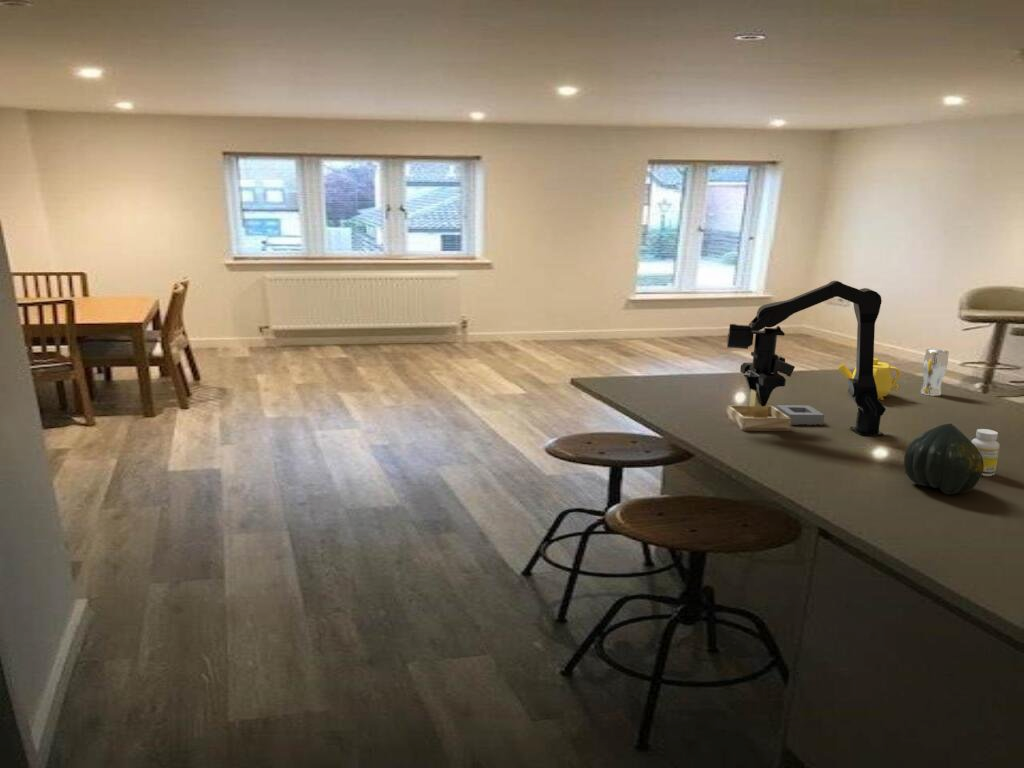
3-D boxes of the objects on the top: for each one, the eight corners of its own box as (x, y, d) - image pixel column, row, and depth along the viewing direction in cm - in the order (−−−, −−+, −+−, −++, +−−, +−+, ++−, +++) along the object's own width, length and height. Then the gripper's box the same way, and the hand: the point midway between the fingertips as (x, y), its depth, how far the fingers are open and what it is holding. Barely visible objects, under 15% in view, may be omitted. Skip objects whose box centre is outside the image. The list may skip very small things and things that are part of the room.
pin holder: (823, 424, 204) (824, 414, 203) (789, 424, 204) (790, 414, 203) (807, 415, 214) (808, 405, 213) (775, 414, 213) (776, 405, 212)
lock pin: (766, 422, 202) (770, 392, 200) (752, 422, 202) (756, 392, 200) (761, 418, 206) (764, 388, 204) (747, 418, 206) (750, 388, 204)
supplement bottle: (967, 466, 172) (975, 426, 169) (995, 472, 168) (1003, 431, 166) (964, 472, 167) (971, 431, 165) (992, 478, 164) (1000, 436, 162)
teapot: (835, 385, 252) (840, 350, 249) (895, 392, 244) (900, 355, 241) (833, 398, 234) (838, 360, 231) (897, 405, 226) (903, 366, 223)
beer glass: (914, 392, 244) (921, 349, 240) (927, 390, 247) (934, 348, 243) (933, 397, 238) (940, 353, 234) (946, 395, 240) (954, 352, 237)
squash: (933, 479, 148) (979, 424, 148) (879, 458, 162) (921, 408, 162) (968, 517, 152) (1011, 464, 153) (912, 493, 166) (952, 444, 167)
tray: (790, 430, 198) (791, 418, 197) (742, 430, 197) (743, 418, 196) (770, 416, 211) (772, 405, 210) (725, 416, 210) (726, 405, 210)
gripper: (807, 356, 190) (800, 412, 194) (779, 344, 208) (773, 395, 212) (766, 356, 190) (760, 412, 193) (742, 343, 208) (737, 395, 212)
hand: (759, 403), depth 203 cm, fingers open, 6 cm apart
